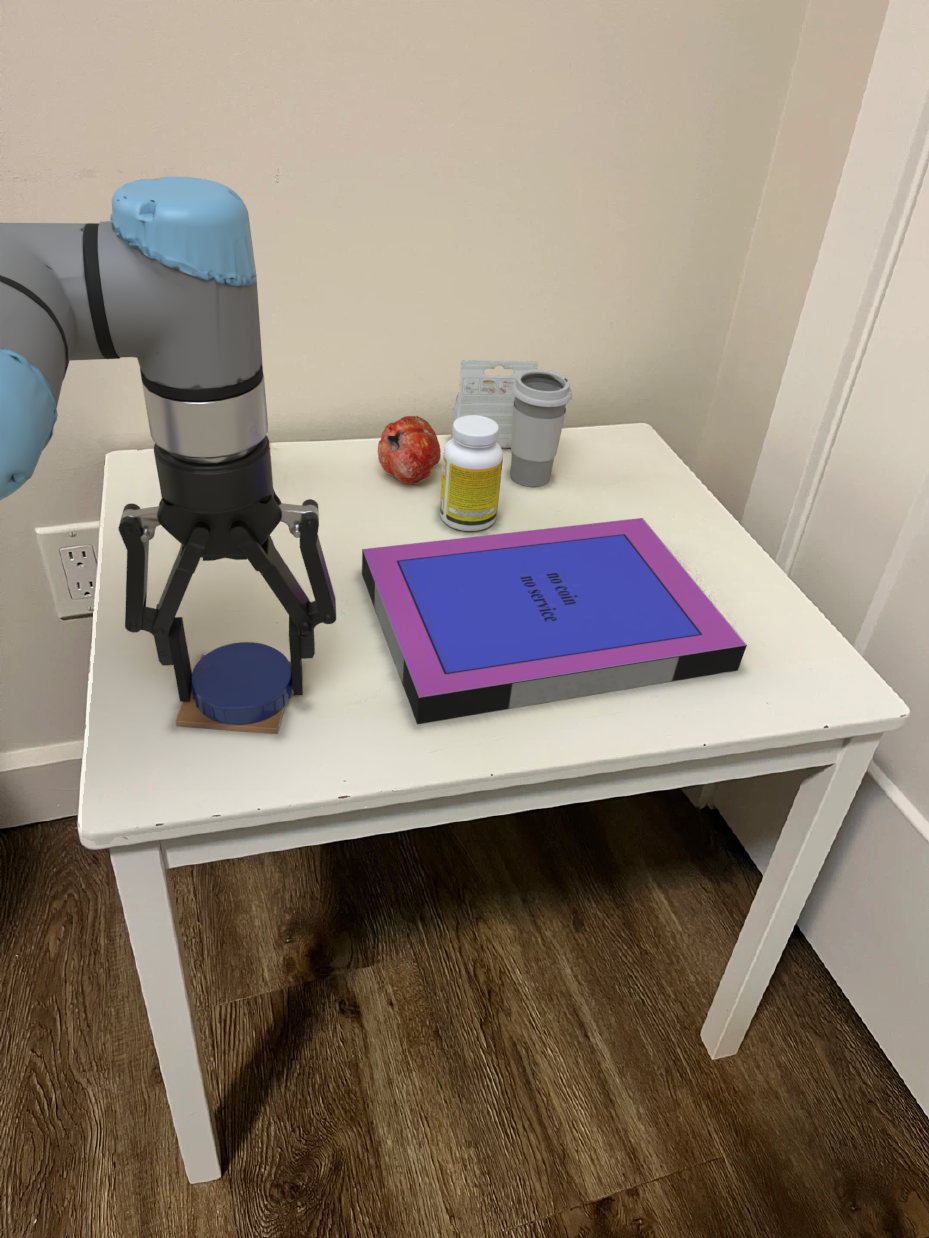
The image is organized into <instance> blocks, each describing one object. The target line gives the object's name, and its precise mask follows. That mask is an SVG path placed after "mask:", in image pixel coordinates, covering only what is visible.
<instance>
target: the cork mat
mask: <svg viewBox="0 0 929 1238" xmlns="http://www.w3.org/2000/svg"><path fill="white" fill-rule="evenodd" d="M205 655H206V654H201V656H200V659H201V658H202V657H203V656H205ZM200 659H199V660H200ZM289 663H290V665H291V661H289ZM285 708H286V706H285V707H284V708H283V709H282V710H281V711H279V712H278V713H277V714H275V715H274V716H272V717H270V718H268V719H266V720H263V721H260V722H257V723H252V724H246V725H231V724H224V723H220V722H217V721H214V720H212V719H210V718H208V717H207V716H205V715H203V713H202V712H201V711H200V710H199V709H198V707H196V703H195V700H194V699H193V695H192V689H191V696H190V701H185V702H182V704H181V706H180V708H179V711H178V713H177V717H176V719H175V726H176V727H181V728H182V727H183V728H196V729H207V730H209V729H210V730H220V731H221V730H222V731H235V732H236V731H237V732H246V733H248V732H249V733H260V734H273V735H274V734H275V735H278V734H279V730H280V726H281V724H282V723H281V722H282V719H283V716H284V712H285Z"/></svg>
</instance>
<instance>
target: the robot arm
mask: <svg viewBox="0 0 929 1238" xmlns="http://www.w3.org/2000/svg"><path fill="white" fill-rule="evenodd" d="M109 218H110V219H109V221H108V220H106V221H103V220H102V221H99V222H88V223H85V222H83V223H78V222H73V223H72V222H0V501H2V500H4V499H7V497H10V496H11V495H12V494H14V493H15V492H17V491H18V490H19V489H20V488H22V486H24V485H25V484H26V483H27V481H28V480H30V479H31V478H32V476H33V475H34V473H35V470H36V467H37V466H38V464H39V460H40V458H41V456H42V452H43V451H44V450H45V448H46V447H48V445H49V443H50V441H51V440H52V437H53V435H54V428H55V424H56V422H57V421H58V404H59V400H60V395H61V391H62V386H63V381H64V380H65V378H66V375H67V371H68V368H69V365H70V361H92V360H120V359H121V358H122V359H123V358H134V359H135V358H136V359H137V362H138V365H139V371H140V372H139V373H140V378H141V379H140V380H141V385H142V386H141V387H142V391H143V397H144V402H145V409H146V415H147V421H148V422H147V423H148V428H149V434H150V437H151V439H152V440H153V441H152V442H154V445H153V455H154V458H155V459H154V460H155V466H156V472H157V477H158V483H159V490H160V494H161V499H160V500H159V503H158V505H157V506H152V507H145V508H141V507H140V506H139V505H138V504H137V503H127V504H125V505H124V506H123V509H122V513H121V517H120V521H119V525H118V527H117V528H118V533H119V535H120V537H121V540H122V541H123V545H124V546H125V549H126V574H125V575H126V576H125V577H126V579H125V607H124V609H125V610H124V611H125V612H124V628H125V629H126V630H127V632H129V633H133V634H134V633H139V632H141V631H142V632H143V631H144V632H148V633H149V634H151V636H153V640H154V644H155V650H156V654H157V659H158V662H159V663H160V665H161V666H163V667H164V666H165V667H166V666H167V667H168V666H172V667H173V671H174V676H175V681H176V687H177V692H178V693H177V694H178V698H179V702H180V703H183V702H185V701H190V696H191V687H192V681H191V677H192V672H193V670H192V666H191V665H192V664H191V659H190V655H189V649H188V648H189V647H188V642H187V636H186V631H185V626H184V619H183V616H178V617H177V614H178V611H179V609H180V606H181V604H182V602H183V599H184V596H185V594H186V591H187V589H188V587H189V584H190V582H191V580H192V577H193V575H194V574H195V572H196V570H197V568H198V565H199V563H200V560H201V558H202V562H211V561H212V562H213V561H219V560H222V559H229V560H235V561H245V560H246V561H247V560H248V562H249V563H250V565H251V566H252V568H253V570H254V571H255V572H258V573H260V575H261V576H262V578H263V579H264V581H265V583H267V585H268V587H269V589H270V590H271V591H272V593H273V594H274V596H275V598H277V600H278V601H279V603H280V604H281V606H282V607H283V609H284V611H285V612H286V613H287V614H288V645H289V657H290V662H291V671H292V684H293V690H292V695H293V697H297V696H303V695H304V677H303V676H304V671H303V660H308V659H314V657H315V654H316V639H315V628H316V627H317V626H318V625H320V624H325V625H333V624H334V623H336V621H337V603H336V595H335V591H334V587H333V584H332V580H331V577H330V573H329V570H328V567H327V562H326V559H325V556H324V551H323V548H322V544H321V541H320V537H319V528H320V515H319V514H320V513H319V503H318V502H317V501H316V500H314V499H313V498H312V499H311V498H309V499H305V500H304V501H303V502H302V503H301V504H294V503H293V504H292V503H285V502H284V503H283V502H282V501H281V499H280V498H279V496H278V495H277V493H276V492H275V489H274V482H273V481H274V479H273V469H272V455H271V445H270V439H269V437H268V435H267V434H268V433H269V420H268V409H267V407H268V406H267V396H266V384H265V383H266V382H265V374H264V366H263V353H262V352H263V351H262V338H261V322H260V306H259V294H258V293H259V292H258V281H257V280H258V279H257V269H256V262H255V255H254V247H253V240H252V231H251V223H250V216H249V210H248V208H247V206H246V203H245V202H244V200H243V199H242V198H241V196H240V195H239V194H238V192H236V191H235V190H233V189H232V188H231V187H229V186H227V185H225V184H223V183H220V182H217V181H215V180H211V179H206V178H201V177H192V176H162V177H159V178H140V179H136V180H133V181H130V182H126V183H125V184H123V185H121V186H120V187H118V188H117V189H116V190H115V191H114V193H113V195H112V198H111V214H110V217H109ZM280 523H284V524H286V526H287V527H288V532H289V533H290V534H291V536H293V537H294V538H295V539H299V549H300V550H299V551H300V554H301V558H302V561H303V563H304V564H303V565H304V568H305V571H306V574H307V579H308V581H309V584H310V587H311V591H312V595H313V598H314V600H312V601H311V600H310V599H309V597H308V595H307V594H306V592H305V591H304V589H303V588H302V587H301V584H300V583H299V581H298V580H297V579H296V577H295V575H294V574H293V573H292V571H291V569H290V568H289V566H288V565H287V563H286V561H285V560H284V559H283V557H282V555H281V554H280V552H279V551H278V550H277V548H276V547H275V544H274V540H273V538H272V537H271V535H272V533H273V532H274V531H275V530H276V528H277V527H278V525H279V524H280ZM159 526H161V527H162V528H163V529H164V530H165V531H166V532H168V534H170V535H171V536H172V537H173V538H174V539H175V540H176V541H177V542H178V543H179V544H180V547H179V550H178V552H177V555H176V558H175V560H174V563H173V565H172V568H171V570H170V572H169V575H168V578H167V580H166V583H165V585H164V588H163V590H162V593H161V595H160V597H159V601H158V603H156V606H155V608H154V607H150V606H147V596H148V595H147V594H148V575H149V572H148V571H149V556H150V555H149V554H150V553H149V552H150V541H151V540H153V539H154V537H155V534H156V529H157V528H158V527H159Z"/></svg>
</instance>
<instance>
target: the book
mask: <svg viewBox="0 0 929 1238" xmlns="http://www.w3.org/2000/svg"><path fill="white" fill-rule="evenodd" d="M361 576H362V578H363V582H364V583H365V586H366V589H367V591H368V595H369V597H370V600H371V603H372V605H373V608H374V611H375V614H376V616H377V618H378V622H379V624H380V627H381V630H382V632H383V636H384V638H385V640H386V644H387V646H388V649H389V651H390V655H391V657H392V660H393V662H394V666H395V668H396V670H397V674H398V677H399V679H400V681H401V685H402V687H403V689H404V692H405V695H406V697H407V700H408V703H409V706H410V709H411V711H412V714H413V717H414V719H415V722H416V724H417V725H421V724H427V723H428V724H429V723H435V722H439V721H445V720H453V719H457V718H463V717H469V716H475V715H481V714H486V713H493V712H498V711H499V712H500V711H505V710H510V709H517V708H523V707H529V706H536V705H540V704H547V703H552V702H558V701H564V700H569V699H576V698H581V697H587V696H595V695H600V694H607V693H612V692H618V691H623V690H629V689H637V688H641V687H647V686H653V685H660V684H665V683H670V682H678V681H682V680H689V679H695V678H701V677H707V676H714V675H718V674H723V673H724V674H725V673H731V672H736V671H739V669H740V666H741V664H742V661H743V658H744V655H745V652H746V649H747V647H748V645H747V643H746V642H745V641H744V640H743V638H742V637H741V636H740V635H739V633H738V632H737V631H736V629H734V627H733V626H732V625H731V624H730V622H728V620H727V619H726V617H725V616H724V615H723V613H721V612H720V610H719V609H718V608H717V606H716V605H714V603H713V602H712V601H711V599H710V598H709V597H708V596H707V594H706V593H705V592H704V591H703V589H702V588H701V587H700V586H699V584H698V583H697V582H696V581H695V580H694V579H693V577H692V576H691V574H690V573H689V572H688V571H687V569H685V567H683V564H681V562H680V561H679V560H678V559H677V558H676V557H675V555H674V554H673V553H672V552H671V550H670V549H669V548H668V547H667V546H666V545H665V543H664V542H663V541H662V540H661V537H659V536H658V534H657V533H656V532H655V531H654V530H653V529H652V527H651V526H650V525H649V523H648V522H647V521H646V520H645V519H644V518H643V517H638V518H637V517H636V518H628V519H620V520H611V521H601V522H591V523H584V524H583V523H582V524H574V525H567V526H566V525H565V526H558V527H549V528H539V529H538V528H537V529H530V530H529V529H528V530H521V531H513V532H512V531H511V532H503V533H494V534H486V535H476V536H467V537H458V538H450V539H441V540H431V541H423V542H414V543H405V544H395V545H387V546H378V547H370V548H362V549H361Z"/></svg>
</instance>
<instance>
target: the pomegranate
mask: <svg viewBox="0 0 929 1238" xmlns="http://www.w3.org/2000/svg"><path fill="white" fill-rule="evenodd" d="M439 442H440V441H439V439H438V436H437V433H436V431H435V430H434V428H433V427H432V426H431V424H430V423H429V422H428V420H426V419H425V418H423V417H421V416H418V415H406V416H403V417H401V418H400V419H398V420H395V421H394V422H389V423H388V424H387V425H385V426H384V429H383V430H382V432H381V437H380V440H378V444H377V456H378V457H377V458H378V462H379V464H380V466H381V467H382V469H383V471H385V472H386V474H387V475H390V476H393V477H395V478H396V479H397V480H398V481H399V482H401V483H403V484H407V485H413V484H414V485H415V484H418V483H420V482H422V481H423V480H425V479H427V478H428V477H430V475H431V472H432V469H433V468H434V467H435V466H437V465H438V464H439V463H440V462H441V452H442V450H441V445H440V443H439Z"/></svg>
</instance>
